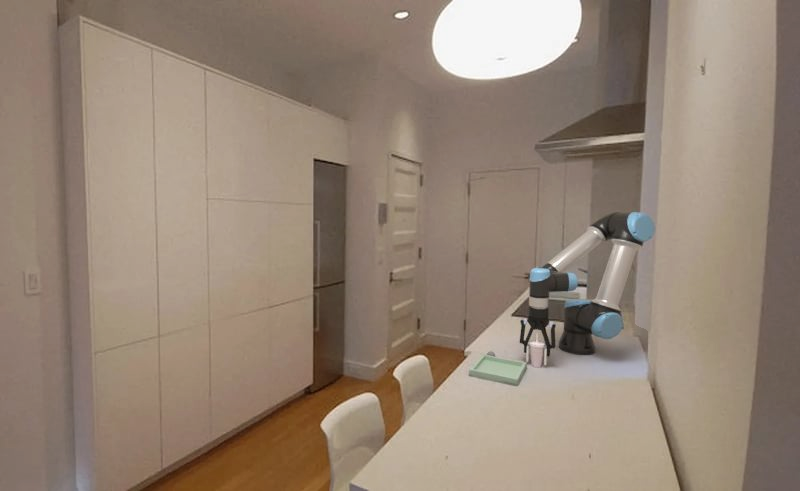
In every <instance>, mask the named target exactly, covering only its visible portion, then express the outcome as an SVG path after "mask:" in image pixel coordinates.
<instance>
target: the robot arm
mask: <svg viewBox="0 0 800 491" xmlns="http://www.w3.org/2000/svg"><path fill="white" fill-rule="evenodd" d="M655 227H656V226H655V222H654V221H653V219H652V217H651V216H650V215H648V214H647V213H644V212H638V211H633V212H631V211H630V212H625V211H623V212H622V211H621V212H620V211H617V212H615V211H614V212H610V213H608V214H606V215H604V216H602V217H600V218H598V219H597V220H596V221H595V222H593V223H591V224H590V225H589V226H588V227H586V232H584V233H583V234H582V235H580V236H579V237H578V238H577V239H575V240H574V241H573V242H572V243H570V244H569V245H568V246H567V247H565V248H564V249H563V250H561V251H560V252H559V253H558V254H556V255H555V256H554V257H553V258H551V259H550V260H549V261H548V262H547V263H545V264H544V265H543V266H542V267H541V266H536V267H534V268H532V269H530V273H529V293H528V294H529V295H528V296H529V297H528V316H527V318H522V319H521V320H520V325H521V326H520V336H519V344H521V345H523V353H524V354H525V355H526V356H525V362H527V363H529V361H530V355H531V353H530V345H529V341H531V340H530V339H531V337H532V334H533V332H534V331H535V330H536V331H537V330H538V331H540V332H541V334H542V337H543V340H544V341H543V342H544V343H545V347H544V353H543V358H544V359H543V364H544V366H547V364H548V358H550V356H551V349H552V350H555V348H556V328H557V327H556V326H557V323H556V322H551V321H550V320H549V306H550V293H558V292H560V293H562V292H566V293H568V292H573V291H575V290H576V289H577V288H578V285H579V284H578V276H577V275H576V274H575V273H573V272H565V271H567V270H569V268H571V267H572V266H573V265H575V264H576V263H577V262H579V261H580V260H581V259H582V258H583V257H585V256H586V255H588V254H589V253H590V252H591V251H592V250H594V249H595V248H596V247H597V246H598V245H603V244H605V243H606V242H607V241H611V242H612V244H613V245H612V249H611V251H610V255H609V258H608V262H607V264H606V267H605V270H604V273H603V276H602V279H601V283H600V285H599V289H598V292H597V294H596V297H595V298H594V299H586V298H573V299H567V300H565V303H564V307H563V308H564V312H563V332H562V334H561V336H560V338H559V340H558V348H559V349H560V350H561V351H564V352H566V353H569V354H574V355H582V356H583V355H584V356H586V355H587V356H588V355H593V354H595V353H596V352H595V351H596V346H595V342H594V338H593V336H594V337H597V338H600V339H603V340H611V339H613V338H615V337H617V336H618V335H619V334H620V333H621V331H622V330H623V328H624V321H623V317H622V316H621V315H620V314H621V311H622V310H621V308H620V306H619V304H620V301H621V298H622V296H623V292H624V289H625V286H626V284H627V280H628V276H629V273H630V272H631V268H632V265H633V262H634V259H635V256H636V252H637V251H638V250H640V249H642V248H643V246H644V242H647V241H649V240H650V239H652V238H653V236H654V234H655ZM527 323H528V324H529V326H530V328H529V330H528V333H527V335H526V338H525V332H526V325H527ZM548 326H549V328H550V339H551V340H550V339H549V336H548V333H547V329H546V328H547V327H548ZM592 335H593V336H592ZM550 342H551V343H550Z"/></svg>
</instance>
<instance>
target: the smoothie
mask: <svg viewBox="0 0 800 491" xmlns="http://www.w3.org/2000/svg"><path fill="white" fill-rule="evenodd" d="M535 336H536V339H531V340H529V342H528V344H529V345H530V360H531V361H530V362H531V366H532V367H534V368H541V367H542V364H543V360H544V359H543V358H544V354H545V347H546V344H545V341H543V340H539V332H536V335H535Z"/></svg>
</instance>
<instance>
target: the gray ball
mask: <svg viewBox="0 0 800 491" xmlns="http://www.w3.org/2000/svg"><path fill="white" fill-rule="evenodd" d="M486 355H489V356H494V357H496V354H495V352H494V351H492V350H490V351H488V352H487V353H486Z"/></svg>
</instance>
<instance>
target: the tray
mask: <svg viewBox="0 0 800 491" xmlns="http://www.w3.org/2000/svg"><path fill="white" fill-rule="evenodd" d="M527 364H528V362H526V361H521V360H515V359H510V358H504V357H499V356H495V357H494V356H489V355H487V354H481V356H479V358H478V359H477V360H476V361H475V362H474V364H472V366H471V367H470V368H469V369H468V376H469V377H473V378H478V379H481V380H486V381H491V382H496V383H501V384H504V385H509V386H514V387H518V386H519V384H520V381H521V380H522V378H523V376H524V374H525V373H526V370H527V369H528V368H527V367H528V365H527Z"/></svg>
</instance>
